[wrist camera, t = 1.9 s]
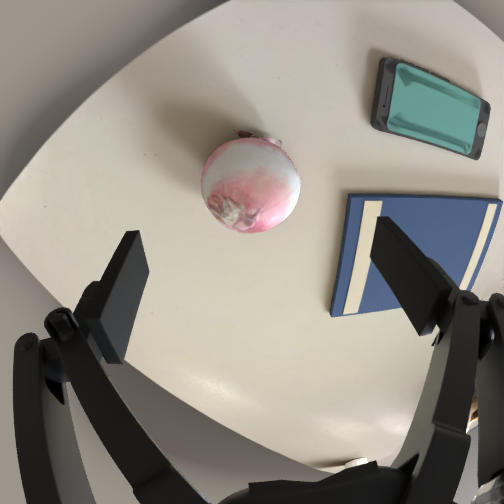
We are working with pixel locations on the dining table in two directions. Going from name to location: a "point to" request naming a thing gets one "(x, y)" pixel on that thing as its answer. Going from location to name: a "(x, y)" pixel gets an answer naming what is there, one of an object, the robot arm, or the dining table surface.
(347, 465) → the mug
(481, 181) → the dining table surface
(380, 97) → the smartphone
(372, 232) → the towel
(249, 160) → the onion
